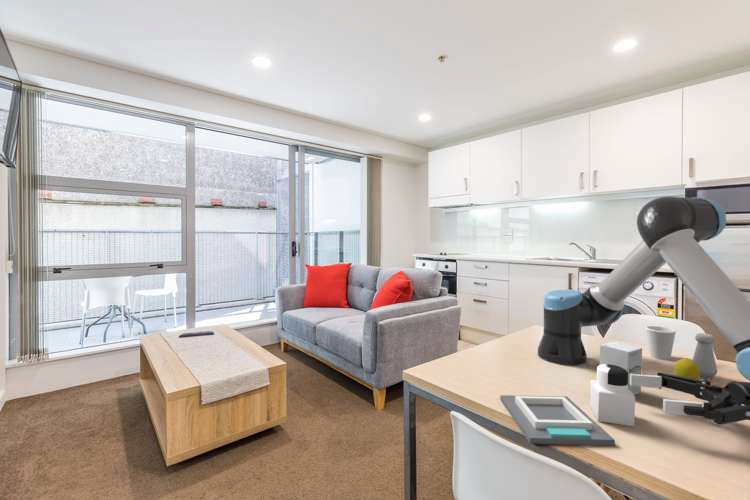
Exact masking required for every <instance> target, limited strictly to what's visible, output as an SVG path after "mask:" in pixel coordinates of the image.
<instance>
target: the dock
mask: <svg viewBox="0 0 750 500" xmlns="http://www.w3.org/2000/svg"><path fill="white" fill-rule="evenodd" d="M499 398H500V402H502V405H503V406H504V407H505V409H506V410H507V412H508V413H509V415H510V416H511V419H513V420H514V422H515V424H516V425H517V427H518V428H519V430H520V432H521V433H522V434H523V436H524V437H525V439H526V440H527V441H528V443H529V444H530V445H532V444H537V445H574V446H575V445H577V446H579V445H581V446H615V445H616V444H615V442H616V440H615V438H613V436H611V435H610V434H609V433H608V432H607V431H606V430H604V428H603V427H602V426H600V425H599V424H598V423H597V422H596V421H595V420H594V419H592V418H591V417H590V416H589V415H588V414H587V413H586V412H585V411H583V410H582V409H581V408H580V407H579V406H578V405H577V404H576V403H575V402H574V401H572V400H571V399H570V398H569V397H568V396H567V395H566V396H565V395H564V396H563V395H562V396H558V395H553V396H551V395H508V394H507V395H505V394H504V395H500V397H499Z"/></svg>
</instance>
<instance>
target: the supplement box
mask: <svg viewBox="0 0 750 500" xmlns="http://www.w3.org/2000/svg"><path fill="white" fill-rule="evenodd" d="M642 358H643V348H642V347H639V346H636V345H635V346H634V345H632V344H627V343H622V342H619V341H612V342H606V343H603V344H600V345H599V365H602V364H611V365H616V366H619V367H622V368H624V369H625V370H626V371H627V372H628V389H629V390H630V391H631V392H632V394H633V395H634V396H635V395H639V394H641V391H642V390H641V389H642V387H640V386H631V385H630V374H638V375H642V371H643V369H642V368H643V367H642V365H643V363H642V362H643V361H642V360H643V359H642ZM599 365H598V366H599Z"/></svg>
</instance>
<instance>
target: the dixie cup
mask: <svg viewBox="0 0 750 500" xmlns="http://www.w3.org/2000/svg"><path fill="white" fill-rule="evenodd" d="M645 329H646V337H647V338H646V339H647V346H648V352H649V353H648V354H649V356H650V357H651V358H653V359H657V360H661V361H662V360H664V361H669V360H671V357H672V352H673V347H674V342H675V337H676V333H677V330H675V329H674V328H669V327H666V326H660V325H659V326H658V325H656V326H655V325H647V326H645Z"/></svg>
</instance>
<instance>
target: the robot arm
mask: <svg viewBox="0 0 750 500" xmlns="http://www.w3.org/2000/svg"><path fill="white" fill-rule="evenodd" d="M726 225H727V214H726V211H725V210H724V208H723V206H722V205H721V204H720V203H718V202H716V201H714V200H712V199H709V198H703V197H700V196H699V197H698V196H694V197H682V196H681V197H680V196H679V197H678V196H661V197H658V198H657V197H656V198H655V199H652V200H650V201H649V202H647V203H645V205H643V206H642V208H640V211H638V214H637V217H636V227H637V231H638V233H639V236H640V237H641V239H642V241H641V242H640V243H638V245H636V246H635V247H634V248H633V249H632V250H631V251H630V253H628V254H627V255H626V256H625V258H623V260H622V261H621V262H620V263H619V264H617V265H616V267H615V268H614V269H613V270H612V271H611V272H610V273H609V274H608V275H607V276H606V277H605V278H604V279H603V280H602V281H601V282H600V283H599V282H597V283H595V282H594V283H593V284H591V285H590V286H589V287H588V288H587V289H586V290H585V291H584V292H580V291H579V290H575V289H558V290H557V289H556V290H552V291H548V292H547V293H545V295H544V297H543V298H544V299H543V300H544V302H543V334H542V336H541V340H540V342H539V343H538V344H539V345H538V347H537V355H538V357H539V358H541V359H543V360H545V361H547V362H551V363H554V364H559V365H565V366H566V365H567V366H579V365H585V364H586V363H587V361H588V360H587V358H588V356H587V351H586V349H585V344H584V342H583V339H582V328H583V327H595V326H598V327H599V326H608V325H611V324H615V322H617V321H619V319H620V318H621V317H622V315H623V311H622V310H623V309H624V307H625V300H626V299H627V298H629V297H630V296H631V295H632V294H634V292H635V291H636V290H638V288H640V287H641V286H642V285H643V284H644V283H645V282H647V280H649V279H650V278H652V276H653V275H654V274H655V273H657V272H658V271H659V270H660V269H662V267H663V266H665V265H666V264H667V265H668V266H669V268H670V269H671V271H673V273H674V274H675V275H676V276H677V278H678V279H679V280H680V282H681V283H682V285H684V286H685V288H686V289H687V290H688V291H689V293H690V294H691V295H692V297H693V298H694V299H695V300H696V301H697V303H698V304H699V306H700V307H701V308H702V310H704V312H705V313H706V314H707V316H708V317H709V318H710V320H711V321H712V322H713V323H714V325H715V326H716V327H717V328H718V329H719V331H720V332H721V333H722V335H723V336H724V337H725V338H726V339H727V341H728V342H729V343H730V345H731V346H732V347H733V348H734V350H735V351H736V353H737V354H736V356H735V359H734V360H735V364H736V365H735V366H736V369H737V370H738V373H740V375H741V376H742V377H743V378H745V379H746V380H748V382H747V381H729V382H728V383H727V384H726V385H725V386H724V387H722V386H721V385H720V386H719V385H714V384H713V385H712V383H711V381H710V380H708V379H699V380H697V379H691V378H686V377H681V376H676V375H674V374H670V373H664V372H660V371H659V372H656V375H651V374H650V375H649V374H641V375H638V374H630V385H631V386H640V387H641V388H642V387H643V388H645V387H646V388H656V389H659V390H661V389H663V388H667V389H671V390H673V391H677V392H680V393H684V394H688V395H692V396H694V397H695V399H699V400H701V401H703V404H702V403H701V402H699V401H690V400H677V399H666V398H663V399H662V400H663V401H662V412H663V413H664V414H666V415H667V414H668V415H678V416H679V415H680V416H687V417H688V416H689V417H700V418H701V417H703V418H704V419H707V420H713V423H714V424H716V425H726V424H730V423H735V422H736V423H737V422H740V421H741V422H742V421H750V382H749V381H750V300H749V299H748V298H747V297H746V296H745V295H744V293H743V292H742V291H741V290H740V289H739V288H738V287H737V285H736V284H735V283H734V282H733V281H732V280H731V278H729V276H727V274H726V273H725V272H724V271H723V269H721V267H720V266H719V265H718V264H717V263H716V262H715V260H713V259H714V258H712V257H711V255H710V254H708V252H707V251H706V250H705V249H704V248H703V246H701V244H700V242H701V241H709V240H711V239H714V238H716V237H718V236H719V235H721V233H722V232H723V231H724V229H725V228H726ZM702 405H703V406H702Z"/></svg>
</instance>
